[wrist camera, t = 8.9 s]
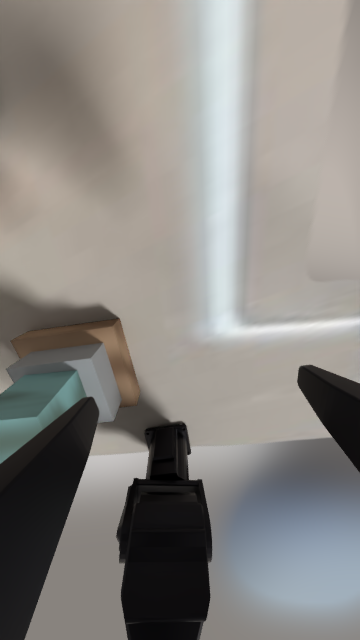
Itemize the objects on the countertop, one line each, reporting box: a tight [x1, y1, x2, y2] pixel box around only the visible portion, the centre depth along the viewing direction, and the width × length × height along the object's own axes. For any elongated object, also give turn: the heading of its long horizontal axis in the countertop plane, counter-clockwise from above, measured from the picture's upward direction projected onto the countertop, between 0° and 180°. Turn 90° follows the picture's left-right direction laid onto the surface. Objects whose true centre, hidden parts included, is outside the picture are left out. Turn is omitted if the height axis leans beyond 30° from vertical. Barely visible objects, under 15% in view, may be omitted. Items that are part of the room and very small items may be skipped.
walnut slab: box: [11, 318, 140, 408], centre depth 21 cm, size 11×11×3 cm
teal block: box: [0, 370, 87, 464], centre depth 15 cm, size 5×5×5 cm
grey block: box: [6, 343, 122, 423], centre depth 19 cm, size 8×8×3 cm
